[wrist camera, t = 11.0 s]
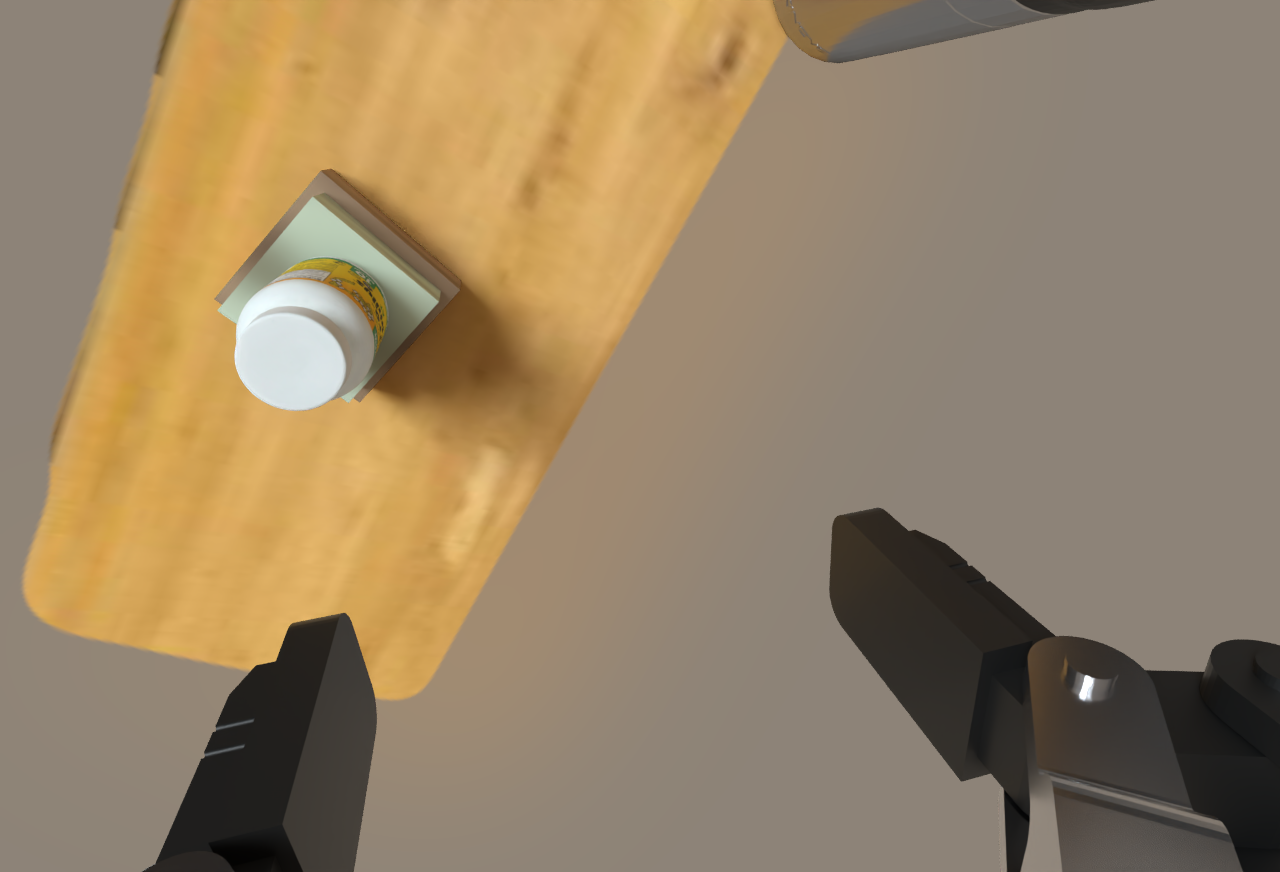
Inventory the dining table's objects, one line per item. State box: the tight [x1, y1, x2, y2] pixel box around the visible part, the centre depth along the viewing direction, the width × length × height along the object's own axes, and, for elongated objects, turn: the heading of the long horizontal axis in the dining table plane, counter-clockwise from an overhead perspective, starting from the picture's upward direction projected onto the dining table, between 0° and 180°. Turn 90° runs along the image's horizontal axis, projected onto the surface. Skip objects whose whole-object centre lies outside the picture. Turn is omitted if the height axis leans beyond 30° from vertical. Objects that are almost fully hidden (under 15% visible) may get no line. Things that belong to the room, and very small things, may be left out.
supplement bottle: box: [235, 256, 389, 411], centre depth 30 cm, size 5×5×10 cm
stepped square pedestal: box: [215, 169, 461, 403], centre depth 37 cm, size 9×9×6 cm
